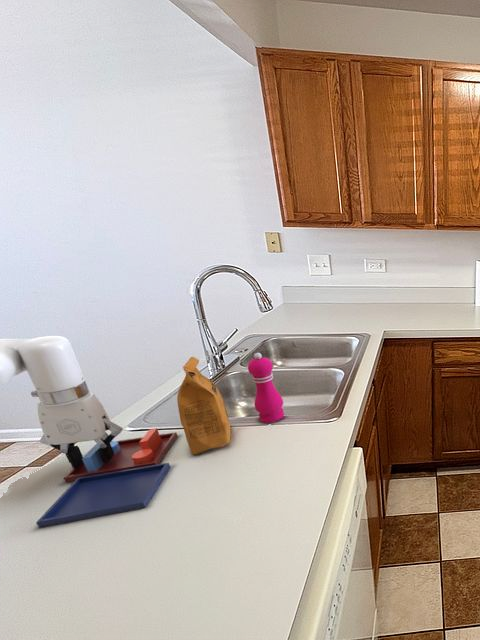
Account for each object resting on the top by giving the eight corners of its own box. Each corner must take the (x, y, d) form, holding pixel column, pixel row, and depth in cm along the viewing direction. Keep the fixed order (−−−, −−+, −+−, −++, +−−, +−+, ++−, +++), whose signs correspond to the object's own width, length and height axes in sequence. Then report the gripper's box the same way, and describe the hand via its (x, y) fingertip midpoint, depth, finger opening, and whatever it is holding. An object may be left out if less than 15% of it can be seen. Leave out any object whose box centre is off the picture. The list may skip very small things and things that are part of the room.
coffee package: (236, 424, 110) (215, 351, 102) (233, 447, 100) (210, 368, 92) (193, 433, 106) (168, 357, 98) (186, 458, 96) (157, 377, 88)
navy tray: (38, 528, 76) (35, 522, 76) (80, 482, 88) (77, 477, 88) (145, 507, 81) (143, 502, 81) (170, 467, 93) (168, 462, 93)
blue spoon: (102, 470, 91) (96, 456, 90) (82, 473, 90) (75, 459, 89) (123, 446, 100) (117, 433, 99) (105, 449, 99) (99, 435, 98)
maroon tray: (65, 483, 88) (63, 477, 88) (98, 448, 100) (96, 443, 100) (157, 467, 93) (155, 462, 92) (177, 436, 105) (176, 432, 104)
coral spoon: (149, 443, 101) (144, 429, 100) (167, 440, 103) (162, 427, 101) (131, 466, 93) (125, 452, 91) (150, 463, 94) (145, 449, 92)
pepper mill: (252, 422, 112) (235, 356, 104) (270, 409, 118) (255, 347, 110) (274, 425, 110) (258, 359, 102) (291, 412, 116) (278, 349, 109)
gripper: (0, 406, 80) (36, 478, 87) (103, 395, 85) (130, 464, 92) (26, 390, 87) (58, 459, 94) (120, 381, 92) (144, 446, 99)
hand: (93, 461), depth 93 cm, fingers open, 5 cm apart
